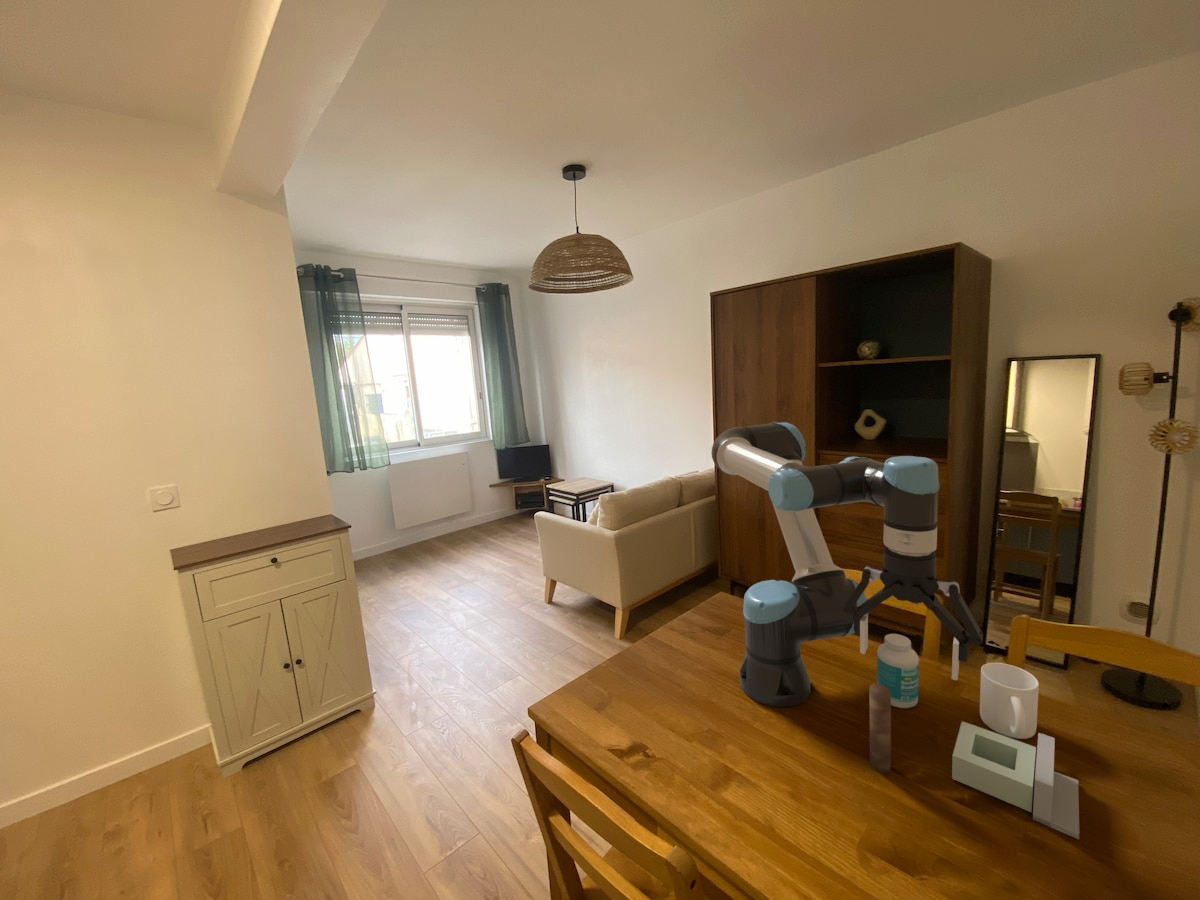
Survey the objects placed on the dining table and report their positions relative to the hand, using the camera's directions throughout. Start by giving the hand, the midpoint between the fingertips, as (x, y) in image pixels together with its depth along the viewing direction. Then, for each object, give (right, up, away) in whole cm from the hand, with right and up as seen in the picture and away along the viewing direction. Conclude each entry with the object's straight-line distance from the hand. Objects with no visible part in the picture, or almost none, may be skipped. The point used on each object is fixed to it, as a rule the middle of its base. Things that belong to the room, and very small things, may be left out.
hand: (907, 662), depth 84 cm
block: (+13, -18, -3) cm, 22 cm away
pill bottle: (+9, -15, +17) cm, 25 cm away
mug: (+23, -16, +6) cm, 29 cm away
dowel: (-4, -19, +1) cm, 19 cm away
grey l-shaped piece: (+18, -18, -9) cm, 27 cm away
